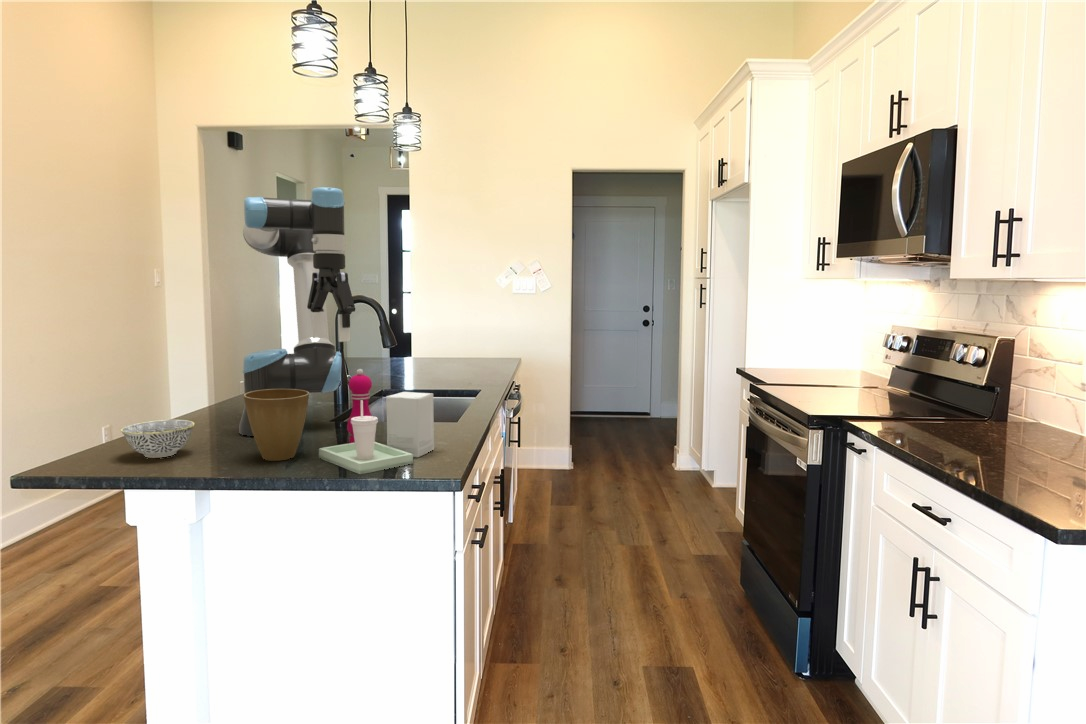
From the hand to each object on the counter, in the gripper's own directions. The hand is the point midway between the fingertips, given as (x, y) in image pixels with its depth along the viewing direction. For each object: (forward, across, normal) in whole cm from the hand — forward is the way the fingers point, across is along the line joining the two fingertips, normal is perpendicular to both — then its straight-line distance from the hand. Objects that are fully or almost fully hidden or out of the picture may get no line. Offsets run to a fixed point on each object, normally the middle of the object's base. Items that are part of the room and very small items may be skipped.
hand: (331, 339), depth 177 cm
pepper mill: (+29, -6, +11) cm, 31 cm away
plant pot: (+29, -5, -12) cm, 32 cm away
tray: (+29, +12, +2) cm, 31 cm away
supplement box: (+29, +12, +15) cm, 35 cm away
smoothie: (+28, +12, +2) cm, 31 cm away
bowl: (+29, -26, -33) cm, 51 cm away
